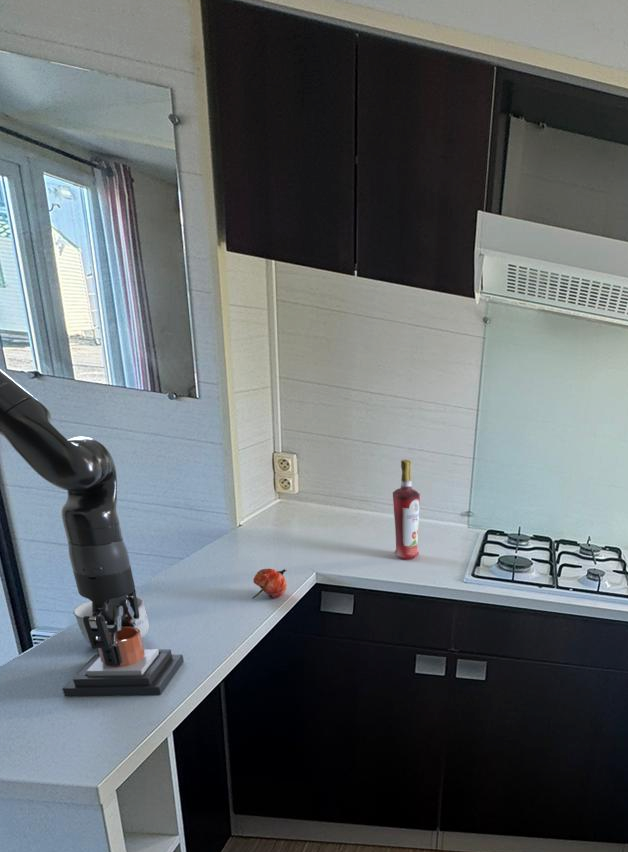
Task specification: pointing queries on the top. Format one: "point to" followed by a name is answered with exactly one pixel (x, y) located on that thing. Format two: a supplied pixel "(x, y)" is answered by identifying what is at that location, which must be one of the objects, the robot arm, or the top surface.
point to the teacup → (86, 610)
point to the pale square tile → (131, 670)
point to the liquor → (406, 515)
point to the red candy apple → (271, 582)
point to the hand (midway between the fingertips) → (122, 655)
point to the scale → (126, 679)
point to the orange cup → (128, 646)
